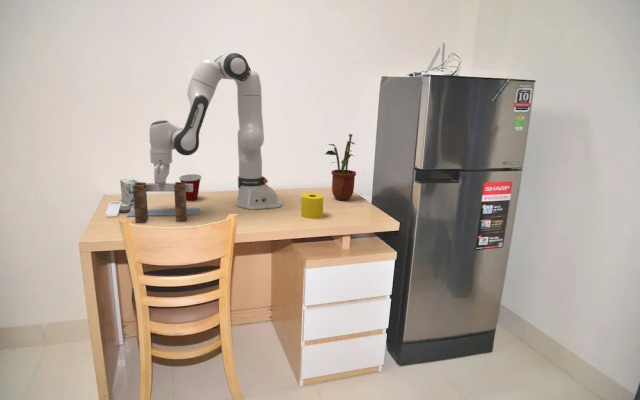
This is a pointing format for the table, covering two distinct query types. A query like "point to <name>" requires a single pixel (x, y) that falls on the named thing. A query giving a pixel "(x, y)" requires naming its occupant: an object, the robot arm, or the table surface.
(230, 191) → the table surface
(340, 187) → the potted plant
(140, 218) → the hook posts
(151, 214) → the slate mat
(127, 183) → the light bulb box
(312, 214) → the yellow hollow cylinder
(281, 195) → the table surface
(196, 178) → the plastic cup
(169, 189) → the rail
